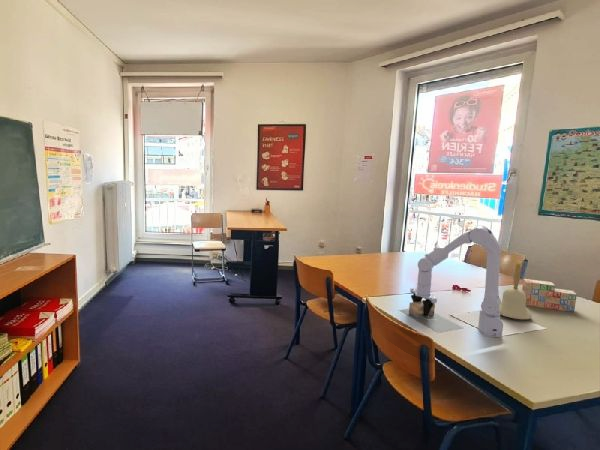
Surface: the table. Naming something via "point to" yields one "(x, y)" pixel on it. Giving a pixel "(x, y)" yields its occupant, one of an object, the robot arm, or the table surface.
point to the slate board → (434, 322)
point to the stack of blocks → (548, 296)
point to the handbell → (514, 300)
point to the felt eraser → (419, 309)
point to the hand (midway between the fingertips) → (421, 312)
